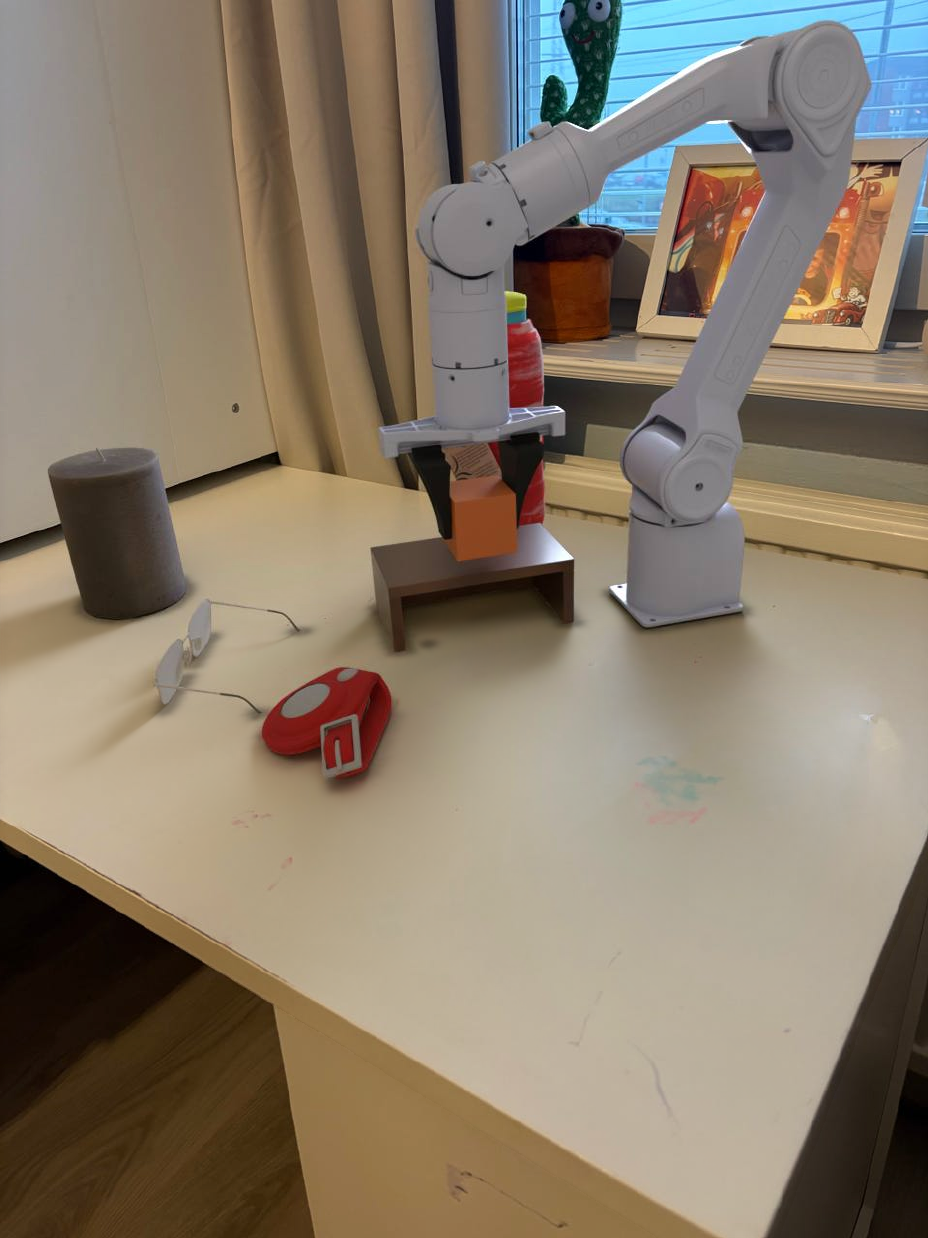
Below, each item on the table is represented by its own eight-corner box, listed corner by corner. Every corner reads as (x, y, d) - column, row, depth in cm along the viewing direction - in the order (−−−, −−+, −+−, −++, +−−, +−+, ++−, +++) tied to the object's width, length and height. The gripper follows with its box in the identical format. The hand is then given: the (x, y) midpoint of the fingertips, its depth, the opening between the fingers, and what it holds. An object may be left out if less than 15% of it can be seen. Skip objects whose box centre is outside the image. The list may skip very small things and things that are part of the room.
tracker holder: (228, 727, 65) (324, 644, 70) (258, 773, 67) (349, 688, 72) (328, 758, 56) (429, 660, 61) (359, 809, 58) (454, 710, 63)
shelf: (540, 581, 87) (540, 522, 84) (574, 621, 79) (574, 558, 76) (376, 607, 84) (370, 547, 81) (394, 652, 76) (388, 587, 73)
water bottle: (474, 570, 90) (461, 306, 78) (431, 546, 96) (413, 298, 84) (567, 539, 96) (568, 290, 84) (521, 518, 101) (516, 283, 90)
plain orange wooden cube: (499, 531, 77) (497, 474, 75) (517, 552, 73) (516, 493, 71) (442, 539, 76) (438, 482, 74) (457, 561, 72) (454, 502, 70)
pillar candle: (107, 630, 82) (65, 471, 75) (68, 598, 89) (26, 449, 82) (205, 595, 88) (174, 444, 81) (161, 567, 94) (130, 426, 87)
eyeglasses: (213, 630, 81) (208, 590, 79) (302, 635, 81) (299, 595, 79) (156, 717, 69) (149, 672, 67) (261, 724, 68) (257, 678, 66)
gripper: (384, 382, 63) (401, 561, 69) (580, 360, 66) (579, 534, 72) (367, 363, 69) (384, 529, 75) (547, 344, 72) (548, 505, 78)
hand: (477, 530), depth 74 cm, fingers closed on plain orange wooden cube, 5 cm apart
